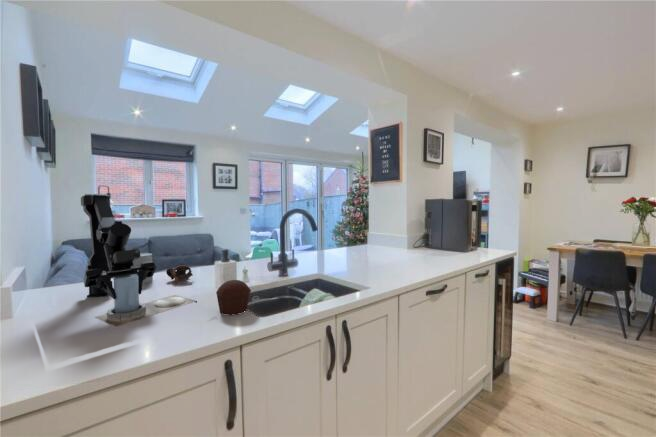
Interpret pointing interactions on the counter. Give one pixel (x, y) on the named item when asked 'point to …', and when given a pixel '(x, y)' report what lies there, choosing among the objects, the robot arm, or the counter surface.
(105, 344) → the counter surface
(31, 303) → the counter surface
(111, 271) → the robot arm
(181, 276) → the pottery mug
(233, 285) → the muffin
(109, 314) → the tan flat slab
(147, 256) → the tall grey pillar block
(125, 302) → the pale blue cylinder
